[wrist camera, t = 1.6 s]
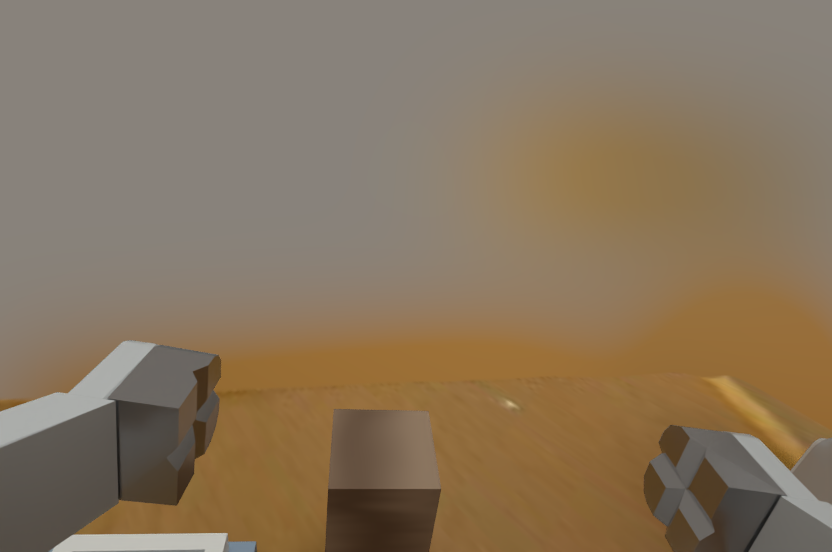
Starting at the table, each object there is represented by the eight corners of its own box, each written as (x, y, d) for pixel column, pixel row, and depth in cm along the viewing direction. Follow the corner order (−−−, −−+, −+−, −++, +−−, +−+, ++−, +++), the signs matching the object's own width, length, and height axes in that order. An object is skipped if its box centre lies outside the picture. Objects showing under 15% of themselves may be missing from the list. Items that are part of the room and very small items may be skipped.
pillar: (405, 553, 33) (428, 411, 27) (412, 638, 28) (441, 489, 23) (326, 554, 32) (334, 409, 27) (320, 642, 28) (328, 488, 22)
